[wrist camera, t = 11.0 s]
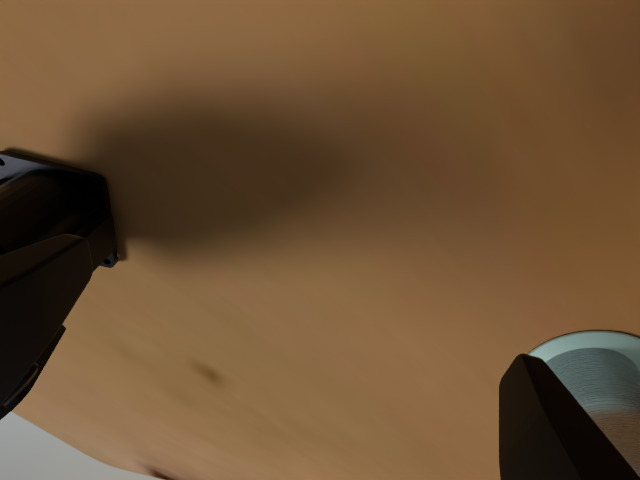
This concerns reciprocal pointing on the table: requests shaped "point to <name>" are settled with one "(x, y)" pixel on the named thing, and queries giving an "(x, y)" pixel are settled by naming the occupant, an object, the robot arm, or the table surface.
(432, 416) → the table surface
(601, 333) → the pale green disc
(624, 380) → the canister
